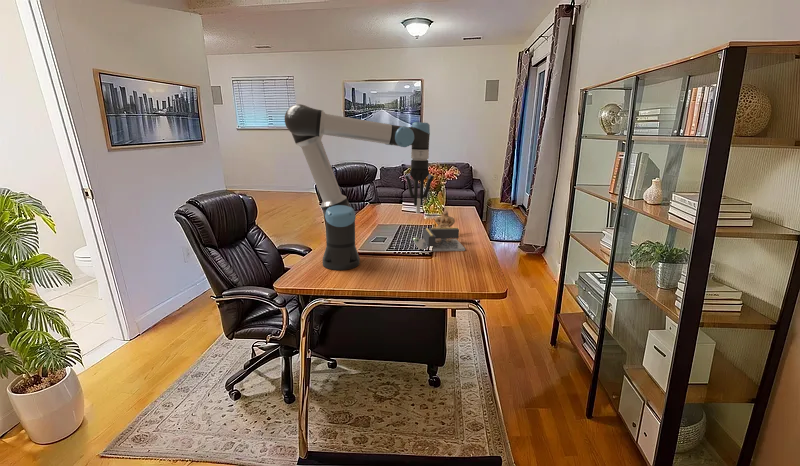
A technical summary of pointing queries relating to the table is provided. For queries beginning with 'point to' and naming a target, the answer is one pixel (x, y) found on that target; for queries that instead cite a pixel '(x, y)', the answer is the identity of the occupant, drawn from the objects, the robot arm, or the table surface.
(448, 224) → the figurine
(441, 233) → the curved tan-striped slab
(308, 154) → the robot arm
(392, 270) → the table surface
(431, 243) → the striped dark bar
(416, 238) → the level plate
